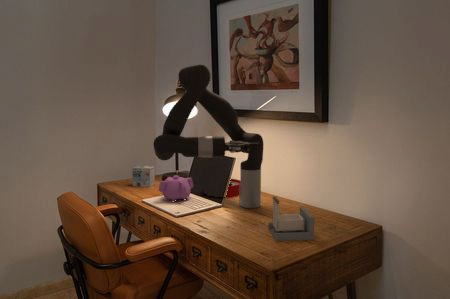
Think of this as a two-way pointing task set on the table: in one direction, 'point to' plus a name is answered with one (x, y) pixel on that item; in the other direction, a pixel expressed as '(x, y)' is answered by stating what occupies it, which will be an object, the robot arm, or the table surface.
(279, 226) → the toy cart
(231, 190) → the toy clock
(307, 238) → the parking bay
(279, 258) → the table surface
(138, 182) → the light bulb box
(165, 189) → the pot
